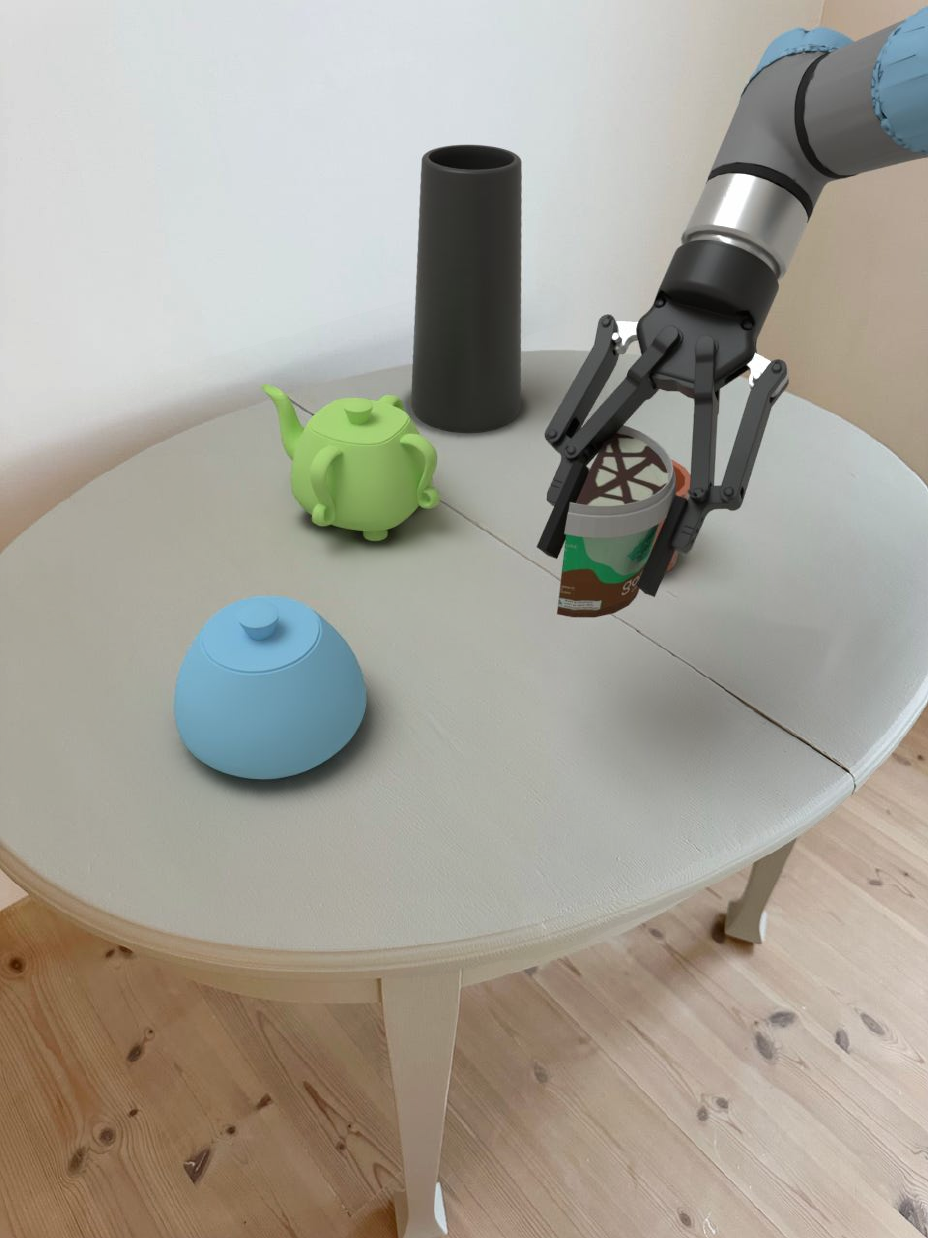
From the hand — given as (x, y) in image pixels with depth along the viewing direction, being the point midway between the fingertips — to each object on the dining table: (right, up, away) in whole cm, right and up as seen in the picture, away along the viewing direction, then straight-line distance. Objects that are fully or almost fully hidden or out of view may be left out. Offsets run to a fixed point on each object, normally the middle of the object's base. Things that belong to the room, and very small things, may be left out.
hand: (595, 571), depth 66 cm
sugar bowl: (-24, -12, +12) cm, 30 cm away
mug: (+7, +4, +32) cm, 33 cm away
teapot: (-21, +8, +36) cm, 42 cm away
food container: (+2, -1, +5) cm, 5 cm away
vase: (-9, +23, +54) cm, 60 cm away
